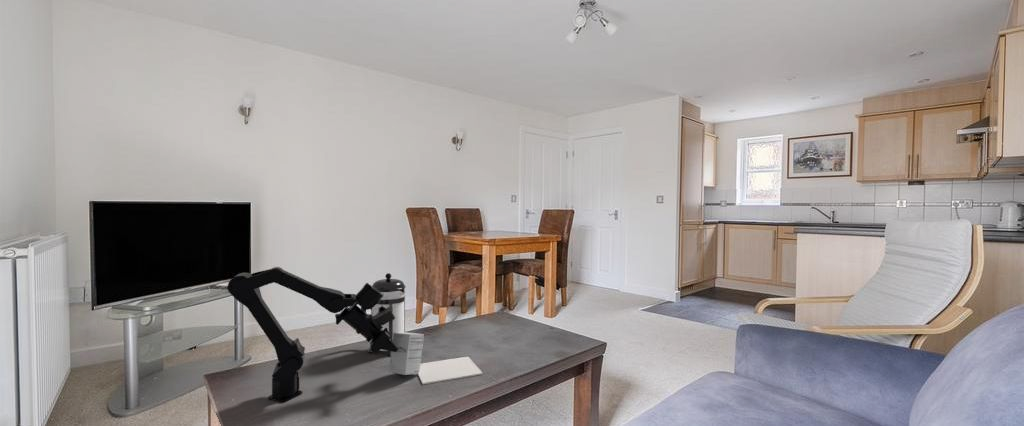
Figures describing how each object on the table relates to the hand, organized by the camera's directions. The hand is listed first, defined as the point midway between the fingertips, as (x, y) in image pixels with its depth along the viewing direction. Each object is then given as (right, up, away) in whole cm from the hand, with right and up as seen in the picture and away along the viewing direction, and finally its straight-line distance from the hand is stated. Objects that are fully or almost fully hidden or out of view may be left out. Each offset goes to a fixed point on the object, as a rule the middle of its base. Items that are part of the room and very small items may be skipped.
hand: (396, 350), depth 131 cm
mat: (+15, -9, +7) cm, 19 cm away
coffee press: (-12, -9, +26) cm, 30 cm away
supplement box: (+2, -8, +1) cm, 8 cm away
